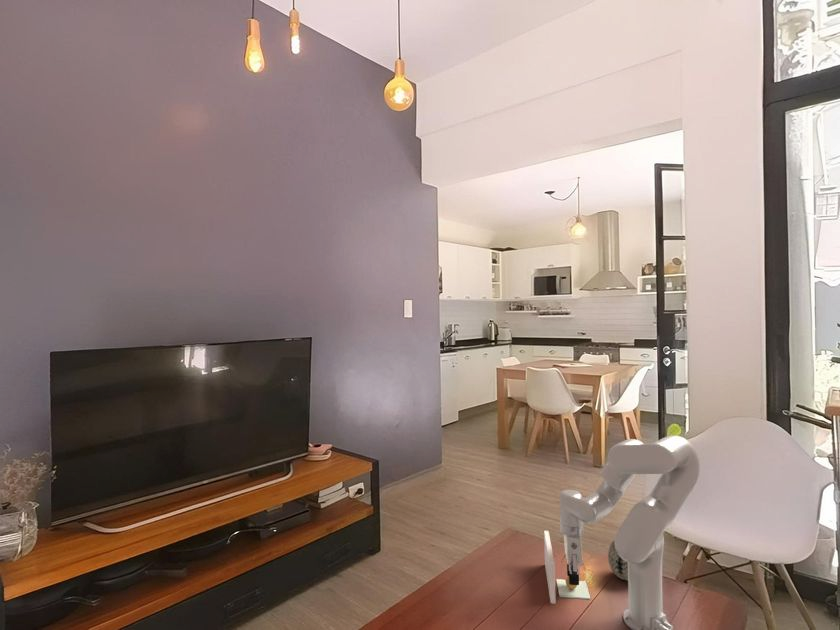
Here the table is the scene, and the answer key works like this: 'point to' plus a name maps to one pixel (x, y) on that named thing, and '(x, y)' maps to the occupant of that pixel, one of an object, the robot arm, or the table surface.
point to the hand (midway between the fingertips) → (573, 579)
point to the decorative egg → (617, 563)
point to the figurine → (568, 576)
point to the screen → (549, 567)
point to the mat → (573, 590)
